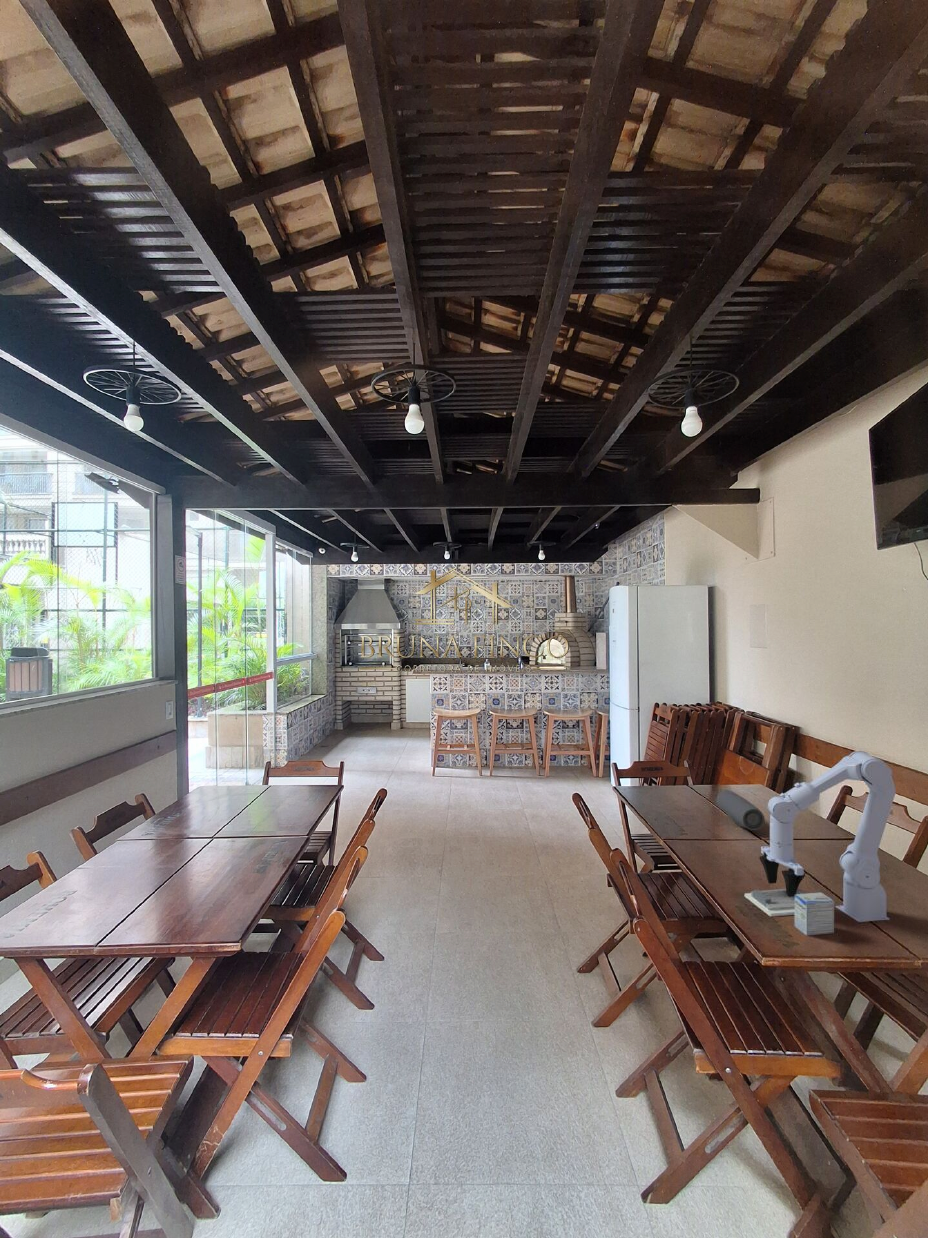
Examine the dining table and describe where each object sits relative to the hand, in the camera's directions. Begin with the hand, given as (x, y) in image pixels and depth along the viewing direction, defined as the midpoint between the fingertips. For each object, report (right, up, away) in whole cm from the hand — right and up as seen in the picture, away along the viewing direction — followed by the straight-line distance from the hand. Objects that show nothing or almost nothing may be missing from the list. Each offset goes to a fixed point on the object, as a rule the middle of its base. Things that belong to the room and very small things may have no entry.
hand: (781, 889), depth 156 cm
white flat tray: (0, -4, 0) cm, 4 cm away
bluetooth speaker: (+19, -4, +62) cm, 65 cm away
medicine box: (+1, -4, -13) cm, 14 cm away
